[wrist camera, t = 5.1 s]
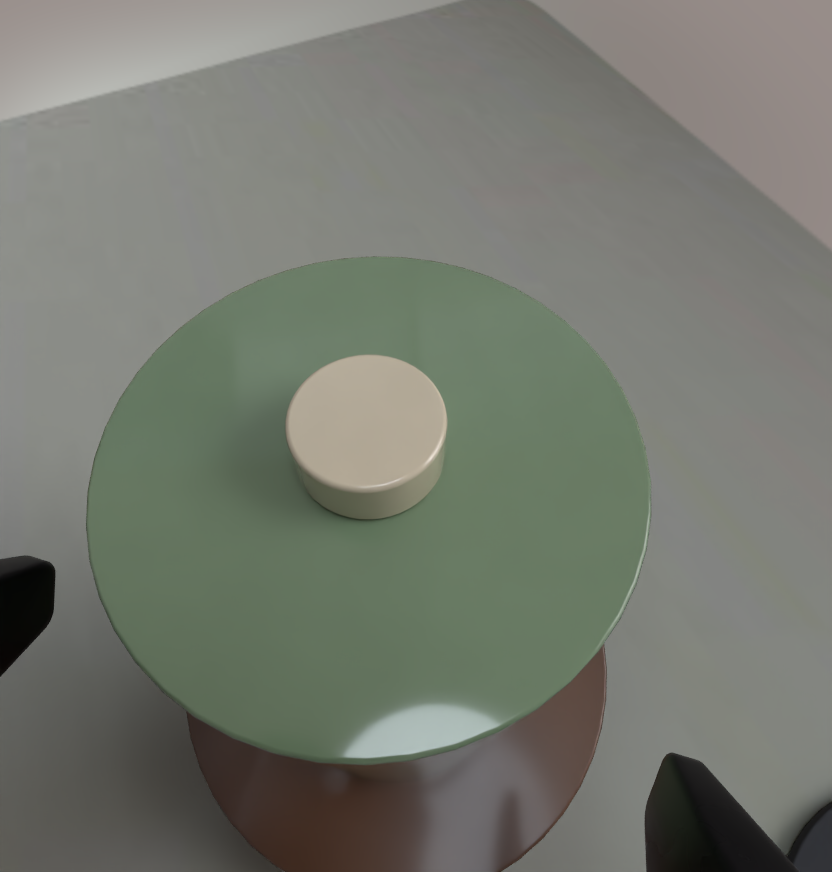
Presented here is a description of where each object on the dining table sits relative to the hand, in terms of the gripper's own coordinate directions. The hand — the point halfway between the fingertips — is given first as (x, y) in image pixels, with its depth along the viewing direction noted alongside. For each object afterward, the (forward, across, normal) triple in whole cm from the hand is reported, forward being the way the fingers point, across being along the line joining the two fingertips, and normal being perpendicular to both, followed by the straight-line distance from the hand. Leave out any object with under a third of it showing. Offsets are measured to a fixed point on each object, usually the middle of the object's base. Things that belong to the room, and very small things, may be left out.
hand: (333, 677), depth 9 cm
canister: (+7, 0, +4) cm, 8 cm away
